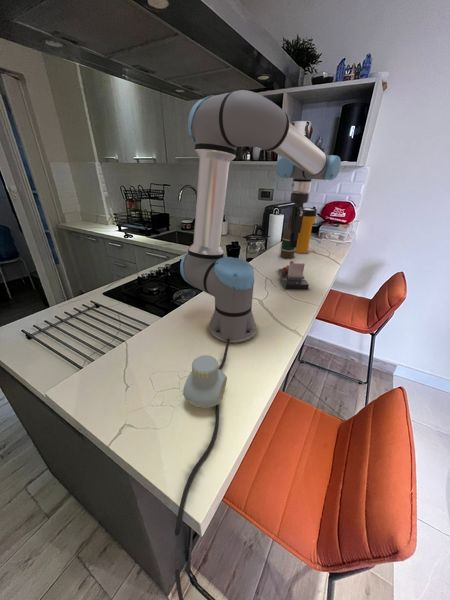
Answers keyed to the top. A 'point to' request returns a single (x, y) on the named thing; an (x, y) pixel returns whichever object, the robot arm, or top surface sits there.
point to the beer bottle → (287, 243)
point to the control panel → (294, 283)
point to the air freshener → (205, 383)
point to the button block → (283, 271)
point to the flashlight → (305, 230)
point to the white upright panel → (295, 270)
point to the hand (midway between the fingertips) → (292, 246)
